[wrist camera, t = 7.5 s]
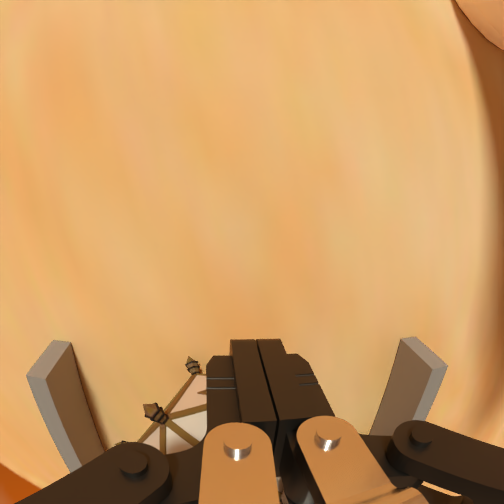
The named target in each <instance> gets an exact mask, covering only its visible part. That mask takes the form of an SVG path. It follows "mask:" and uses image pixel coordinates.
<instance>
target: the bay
mask: <svg viewBox="0 0 504 504" xmlns="http://www.w3.org/2000/svg"><path fill="white" fill-rule="evenodd" d="M447 367H448V365H447V364H446V363H445V362H444V361H442V360H441V359H440V358H439V357H438V356H437V355H436V354H435V353H434V352H432V351H431V350H430V349H429V348H428V347H427V346H426V345H425V344H423V343H422V342H421V341H420V340H419V339H418V338H417V337H411V338H404V339H401V341H400V344H399V348H398V352H397V355H396V359H395V362H394V365H393V369H392V372H391V375H390V378H389V381H388V385H387V388H386V391H385V393H384V396H383V399H382V402H381V405H380V408H379V410H378V413H377V416H376V419H375V421H374V424H373V426H372V429H371V431H370V434H369V435H379V436H392V435H393V433H394V431H395V429H396V428H397V427H398V426H399V425H400V424H402V423H404V422H406V421H411V420H421V421H425V419H426V417H427V415H428V413H429V411H430V409H431V406H432V404H433V402H434V400H435V397H436V395H437V392H438V390H439V388H440V385H441V383H442V380H443V378H444V375H445V373H446V370H447ZM26 377H27V380H28V382H29V385H30V388H31V390H32V393H33V396H34V398H35V401H36V403H37V406H38V408H39V410H40V413H41V415H42V417H43V420H44V422H45V424H46V426H47V428H48V430H49V433H50V435H51V437H52V439H53V441H54V443H55V445H56V447H57V449H58V451H59V453H60V454H61V456H62V458H63V460H64V462H65V464H66V465H67V467H68V469H69V471H70V473H71V472H73V471H75V470H77V469H78V468H80V467H82V466H83V465H85V464H87V463H88V462H90V461H91V460H93V459H95V458H96V457H98V456H100V455H101V454H103V453H104V452H105V451H104V449H103V446H102V444H101V441H100V439H99V436H98V433H97V431H96V428H95V425H94V422H93V419H92V416H91V413H90V410H89V407H88V404H87V401H86V398H85V395H84V391H83V388H82V385H81V381H80V378H79V374H78V370H77V366H76V362H75V358H74V354H73V350H72V346H71V342H63V341H55V340H53V341H52V342H51V344H50V345H49V346H48V347H47V349H46V350H45V351H44V352H43V354H42V355H41V356H40V357H39V359H38V360H37V361H36V363H35V364H34V365H33V366H32V368H31V369H30V370H29V372H28V373H27V374H26Z"/></svg>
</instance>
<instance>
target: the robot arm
mask: <svg viewBox="0 0 504 504" xmlns="http://www.w3.org/2000/svg"><path fill="white" fill-rule="evenodd" d="M206 399H207V431H206V434H205V436H204V437H203V439H202V440H201V441H200V442H199V443H198V444H197V445H195V446H193V447H192V448H190V449H187V450H184V451H181V452H176V453H171V454H166V455H164V454H163V453H162V452H161V451H160V450H158V449H157V448H155V447H153V446H151V445H148V444H145V443H139V442H128V443H122V444H119V445H116V446H114V447H112V448H111V449H109V450H107V451H106V452H104V453H103V454H101V455H100V456H98V457H96V458H95V459H93V460H91V461H90V462H88V463H87V464H85V465H83V466H82V467H80V468H78V469H77V470H75V471H73V472H71V473H70V474H68V475H66V476H65V477H63V478H61V479H59V480H58V481H56V482H54V483H52V484H51V485H49V486H47V487H45V488H43V489H42V490H40V491H38V492H36V493H34V494H32V495H30V496H28V497H26V498H25V499H23V500H21V501H19V502H17V503H15V504H280V503H279V495H278V488H277V481H276V477H281V479H282V483H283V491H282V495H281V499H282V503H283V504H504V448H501V447H497V446H494V445H491V444H488V443H485V442H482V441H479V440H476V439H473V438H470V437H467V436H464V435H462V434H459V433H456V432H453V431H450V430H448V429H445V428H442V427H440V426H437V425H434V424H432V423H429V422H426V421H421V420H411V421H406V422H404V423H402V424H400V425H399V426H398V427H397V428H396V429H395V431H394V433H393V435H392V436H379V435H363V434H358V432H357V431H356V429H355V428H354V427H353V426H352V425H351V424H350V423H348V422H347V421H345V420H343V419H340V418H337V417H335V415H334V413H333V411H332V409H331V407H330V405H329V403H328V401H327V399H326V397H325V395H324V393H323V391H322V389H321V387H320V385H318V381H317V379H316V377H315V375H314V373H313V371H312V369H311V367H310V365H309V363H308V362H307V361H306V360H305V359H303V358H302V357H301V356H300V355H298V354H286V351H285V349H284V346H283V344H282V342H281V340H280V339H256V340H254V339H247V340H230V356H213V357H212V358H211V360H210V361H209V363H208V364H207V365H206ZM423 481H425V482H428V483H430V484H433V485H435V486H438V487H441V488H443V489H446V490H449V491H452V492H455V493H458V494H461V496H450V495H447V494H444V493H442V492H439V491H436V490H434V489H431V488H428V487H426V486H423V485H421V484H422V483H423Z"/></svg>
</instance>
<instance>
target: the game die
mask: <svg viewBox="0 0 504 504" xmlns="http://www.w3.org/2000/svg"><path fill="white" fill-rule="evenodd" d="M197 363H198V361H195V360H193V359H192V358H190V357H189V356H188V359H187V363H186V364H185V365H186V367H187V368H188V369H187V370H188V371H189V373H191V374H192V376H191V377H190V378H189V380H188V381H187V382H186V383H185V385H184V386H183V387H182V388H181V389H180V391H179V392H178V393H177V394H176V396H175V397H174V398H173V399H172V400H171V402H170V403H169V404H168V405H167V407H166V408H165V409H164V410H163V408H162V407H159V406H158V404H157V403H154V404H143V407H144V410H145V417H147V418H150V420H151V421H154V422H153V423H152V425H151V426H150V427H149V428H148V429H147V431H146V432H145V433H144V434H143V435H142V437H141V438H140V439H139V440H138V441H137V442H139V443H145V444H148V445H151V446H153V447H155V448H157V449H158V450H160V451H161V452H162V453H163V454H164V455H166V454H171V453H176V452H181V451H184V450H187V449H190V448H192V447H193V446H195V445H197V444H198V443H199V442H200V441H201V440H202V439H203V437H204V436H205V434H206V431H207V399H206V374H200V373H199V366H198V365H197ZM122 443H128V442H126V441H122V442H119V443H117V444H115V445H119V444H122ZM276 481H277V488H278V495H279V503H280V504H283V503H282V499H281V495H282V491H283V483H282V479H281V477H276Z"/></svg>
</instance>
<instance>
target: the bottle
mask: <svg viewBox="0 0 504 504" xmlns="http://www.w3.org/2000/svg"><path fill="white" fill-rule="evenodd" d="M455 1H456V2H457V4H458V6H459V7H460V9H461V10H462V11H463V12H464V14H465V15H466V16H467V18H468V19H469V20H470V22H471V23H472V24H473V25H474V26H475V27H476V28H477V29H478V30H479V31H480V32H481V33H482V34H483V35H484V37H485V38H486V39H488V40H489V41H490V42H492V43H493V44H495V45H496V46H497V47H499V48H500V49H502V50H504V0H455Z"/></svg>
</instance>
